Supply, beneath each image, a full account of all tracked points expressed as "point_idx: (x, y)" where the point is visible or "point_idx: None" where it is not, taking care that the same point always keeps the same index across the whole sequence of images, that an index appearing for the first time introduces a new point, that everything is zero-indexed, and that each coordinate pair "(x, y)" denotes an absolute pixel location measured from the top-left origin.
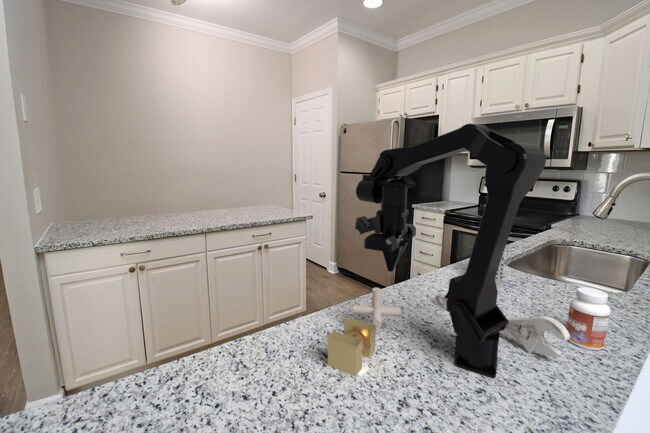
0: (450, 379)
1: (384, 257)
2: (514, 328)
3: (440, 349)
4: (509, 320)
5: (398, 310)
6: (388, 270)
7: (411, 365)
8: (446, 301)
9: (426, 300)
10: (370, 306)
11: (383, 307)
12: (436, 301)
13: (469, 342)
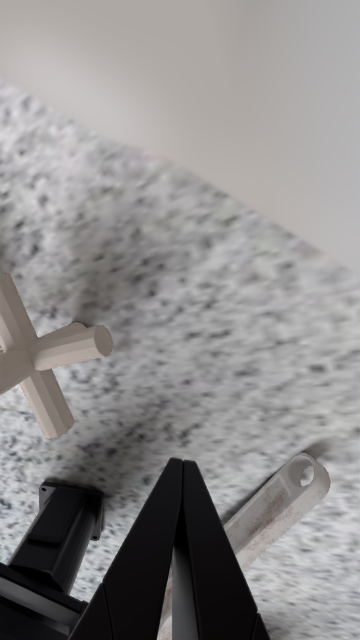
0: (5, 472)
1: (90, 602)
2: None
3: (82, 460)
4: (162, 623)
5: (43, 431)
6: (169, 462)
7: (2, 417)
8: (286, 496)
9: (323, 430)
10: (6, 345)
11: (25, 389)
12: (309, 460)
13: (11, 556)
